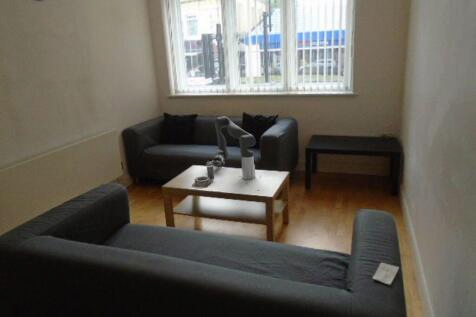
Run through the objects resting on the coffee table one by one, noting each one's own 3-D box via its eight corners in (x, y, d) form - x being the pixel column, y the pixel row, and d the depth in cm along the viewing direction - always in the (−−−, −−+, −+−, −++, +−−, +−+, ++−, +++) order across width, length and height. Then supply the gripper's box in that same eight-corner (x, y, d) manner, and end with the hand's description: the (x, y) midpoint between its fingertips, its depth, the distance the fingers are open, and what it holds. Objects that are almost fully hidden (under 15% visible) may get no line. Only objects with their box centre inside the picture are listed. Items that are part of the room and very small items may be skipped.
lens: (215, 177, 292) (214, 162, 289) (212, 179, 288) (211, 164, 285) (209, 177, 294) (208, 162, 291) (206, 179, 290) (205, 164, 286)
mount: (213, 181, 283) (212, 176, 282) (206, 187, 272) (206, 182, 271) (199, 180, 287) (198, 175, 286) (191, 186, 276) (191, 180, 275)
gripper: (209, 156, 314) (204, 161, 298) (226, 155, 311) (221, 161, 296) (210, 164, 316) (205, 170, 301) (226, 164, 313) (222, 170, 298)
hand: (213, 166), depth 298 cm, fingers open, 8 cm apart
